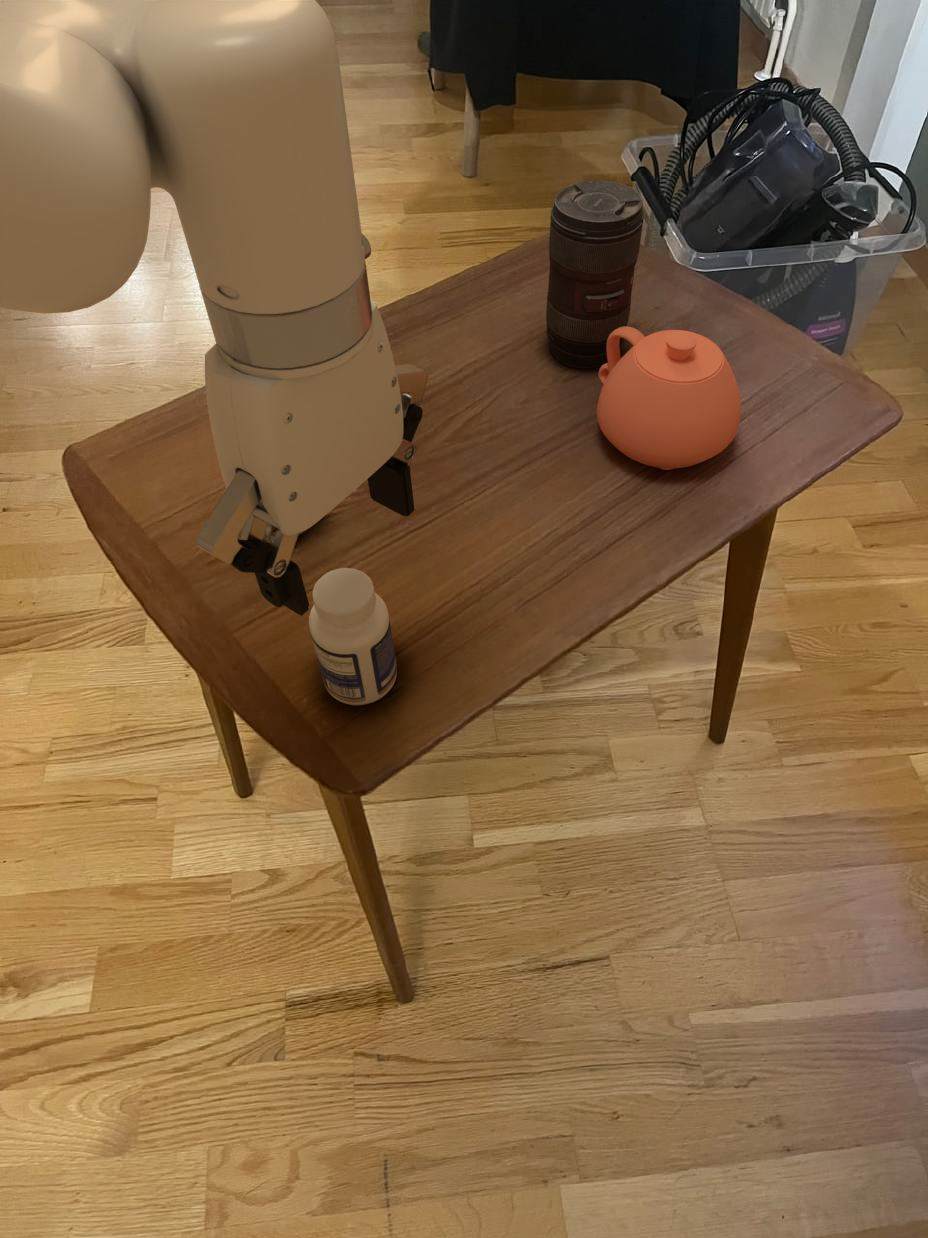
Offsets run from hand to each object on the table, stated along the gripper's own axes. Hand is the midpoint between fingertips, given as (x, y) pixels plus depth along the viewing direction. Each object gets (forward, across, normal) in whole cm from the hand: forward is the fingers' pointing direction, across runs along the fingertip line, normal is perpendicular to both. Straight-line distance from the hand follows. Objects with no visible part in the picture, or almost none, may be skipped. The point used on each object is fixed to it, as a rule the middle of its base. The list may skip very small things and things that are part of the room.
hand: (342, 551), depth 56 cm
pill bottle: (+14, 0, 0) cm, 14 cm away
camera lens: (+14, -43, -8) cm, 46 cm away
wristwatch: (+13, -8, -14) cm, 21 cm away
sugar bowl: (+14, -36, +4) cm, 38 cm away
